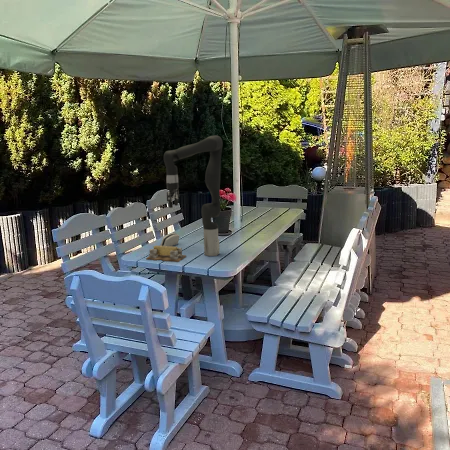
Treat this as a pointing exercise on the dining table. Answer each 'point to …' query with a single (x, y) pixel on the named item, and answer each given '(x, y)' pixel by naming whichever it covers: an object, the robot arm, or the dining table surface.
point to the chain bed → (166, 256)
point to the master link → (165, 249)
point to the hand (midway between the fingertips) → (173, 206)
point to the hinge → (170, 240)
